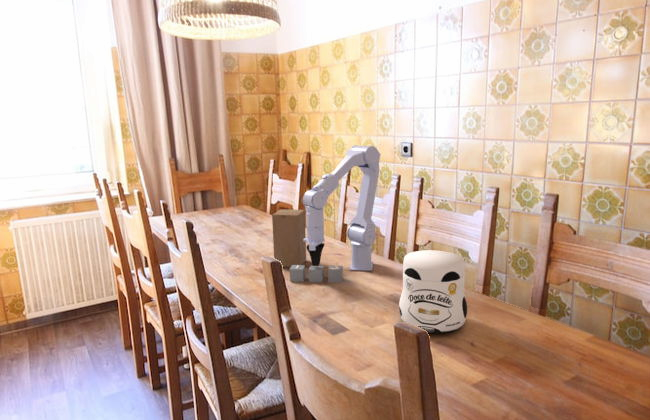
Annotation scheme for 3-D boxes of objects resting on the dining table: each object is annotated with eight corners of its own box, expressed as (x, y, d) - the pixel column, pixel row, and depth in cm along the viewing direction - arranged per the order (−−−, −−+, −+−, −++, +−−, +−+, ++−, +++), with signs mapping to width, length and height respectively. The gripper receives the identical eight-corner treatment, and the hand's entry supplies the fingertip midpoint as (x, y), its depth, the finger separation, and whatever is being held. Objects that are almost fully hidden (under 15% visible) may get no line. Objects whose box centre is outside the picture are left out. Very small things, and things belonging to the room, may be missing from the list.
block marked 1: (292, 277, 159) (292, 264, 158) (305, 277, 158) (305, 264, 157) (290, 281, 154) (289, 268, 154) (303, 282, 154) (302, 268, 153)
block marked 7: (329, 278, 157) (329, 265, 156) (342, 278, 157) (342, 265, 156) (328, 282, 153) (327, 269, 152) (341, 283, 152) (341, 269, 151)
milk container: (418, 344, 110) (419, 272, 107) (388, 315, 126) (388, 252, 123) (480, 333, 115) (483, 264, 111) (444, 306, 131) (445, 246, 128)
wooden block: (300, 268, 168) (298, 215, 164) (274, 267, 170) (271, 214, 166) (306, 260, 177) (305, 209, 173) (281, 259, 179) (279, 209, 175)
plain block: (311, 277, 158) (310, 265, 157) (324, 278, 157) (323, 265, 156) (309, 282, 154) (308, 269, 153) (322, 282, 153) (321, 269, 152)
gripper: (306, 221, 159) (307, 258, 162) (299, 231, 145) (300, 272, 148) (326, 221, 158) (327, 259, 161) (321, 231, 144) (322, 272, 147)
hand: (316, 265), depth 154 cm, fingers closed
